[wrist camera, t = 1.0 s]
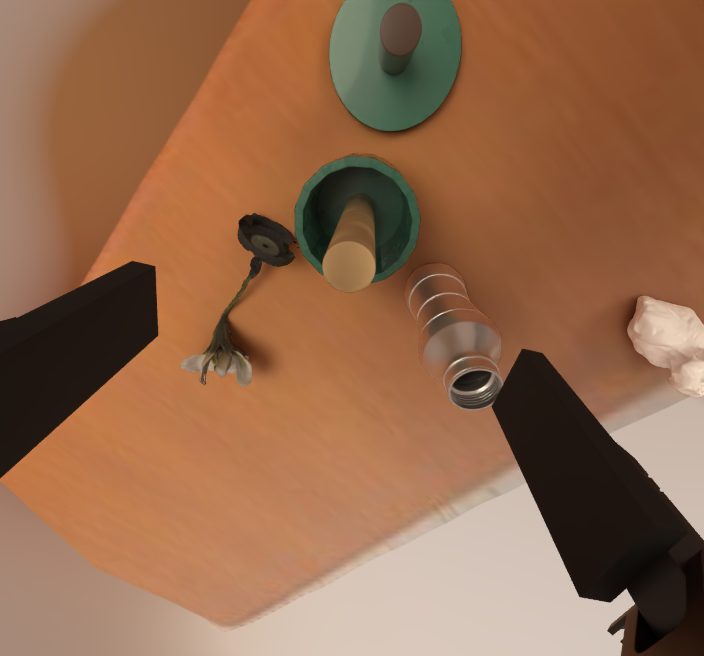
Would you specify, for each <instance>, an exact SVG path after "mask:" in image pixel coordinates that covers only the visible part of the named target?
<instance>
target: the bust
mask: <svg viewBox="0 0 704 656" xmlns="http://www.w3.org/2000/svg"><path fill="white" fill-rule="evenodd" d="M627 332H628V335H629V337H630V339H631V340H632V342H633V345H634V348H635V350H636V351H637V352H638V353H639V354H642V355H643V356H644V357H645V358H647V359H648V361H649V362H650V363H651V364H653V365H655V366H658V367H662V368H669V369H671V374H672V376H671V377H670V378H669V385H670V386H671V387H673V388H675V389H676V390H677V391H679V392H681V393H683V394H686V395H689V396H694V397H699V396H703V395H704V325H703V324H702V322H701V321H700V319H699V318H698V317H697V315H696V314H695V312H694V311H693V310H691V309H690V308H689V307H684V306H680V305H675V304H672V303H668V302H665V301H662V300H655V299H653V298H651V297H648V296H640V297H639V298H638V299H637V305H636V312H635V314H634V317H633V318H632V319H631V321H630V322H629V325H628V329H627Z"/></svg>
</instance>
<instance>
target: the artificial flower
mask: <svg viewBox="0 0 704 656" xmlns="http://www.w3.org/2000/svg"><path fill="white" fill-rule="evenodd" d="M245 215H246V214H245ZM238 224H239V229H238V239H239V242H240V243H241V244H242V245H241V246H243V247H244V248H245V249H246V250H247V251H252V252H253V253H254V256H255V257H254V258H252V260H251V264H250V266H251V270H250V273H249V275H248V277H247V278H246V279H245V280H244V282H243V285H242V288H241V290H240V291H239V292H238V293H237V295H236V296H235V298H234V299H233V300H232V302H231V303H230V304H229V306H228V307H227V308H226V309H225V310H224V313H223V314H222V316H221V319H220V321H219V323H218V325H217V326H216V328H215V330H214V333H213V339H212V342H211V344H210V346H209V347H208V348H207V350H206V351H205V353H204V354H198V355H193V356H191V357H189V358H187V359H185V360H184V361H183V362H182V365H181V368H184V369H185V370H186V371H189V372H200V371H201V376H200V382H201V384H203V382H204V378H203V377H204V374H205V382H204V383H205V384H206V373H207V370H208V371H216V372H217V373H218V374H219V376H220V377H224V376H225V374H226V373H237V383H238V384H239V385H240V386H247V385H249V383H250V382H251V379H252V366H251V364H250V363H249V362H248V359H249V356H245V353H244V352H242V351H240V350H239V349H238V348H237V347H236V346H235V344H234V343H233V341H232V338H231V335H232V334H231V333H230V331H229V326H228V325H227V320H226V315H227V313H228V312H229V310H230V309H231V308H232V306H233V305H234V303H236V301H238V299H239V297H240V296H241V295H242V293H243V292H244V290H245V289H246V287H247V285H248V283H249V281H250V280H251V279H253V278H254V277H256V275H257V274H258V273H259V272H260V269H261V266H262V261H263V262H265V263H267V264H271V265H273V266H277V267H280V266H284V265H288V264H290V263H291V262H292V260H294V258H295V256H294V254H293V253H292V252H290V251H289V244H290V243H291V242H295V241H293V240H295V238H294V237H292V235H291V233H290V232H289V231H288V230H286V228H284V227H283V226H282V225H280V224H278V223H276V222H273V221H271V220H269V219H268V218H265V217H262V216H260V215H257V214H256V213H253V214H252V215H246V216H244V217H242V219H240V220H239V223H238ZM295 243H297V242H295ZM297 244H298V243H297ZM297 248H299V247H297ZM205 384H203V385H205Z"/></svg>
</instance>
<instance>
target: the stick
mask: <svg viewBox="0 0 704 656" xmlns="http://www.w3.org/2000/svg"><path fill="white" fill-rule="evenodd" d="M322 269H323V274H324V276H325V279H326V280H327V282H328V283H329V284H330V285H331V286H332V287H334V288H335V289H337V290H339V291H342V292H347V293H352V292H357V291H360V290H362V289H364V288H365V287H367V286H368V285H369V284H370V283H371V281H372V280H373V278H374V275H375V271H376V256H375V222H374V204H373V202H372V200H371V199H370V197H368V196H367V195H365V194H355V195H353V196H352V197H350V198H349V200H348V201H347V204H346V206H345V208H344V211H343V213H342V215H341V218H340V220H339V223H338V225H337V227H336V230H335V232H334V235H333V237H332V239H331V242H330V244H329V246H328V249H327V251H326V254H325V256H324V259H323V263H322Z"/></svg>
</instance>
